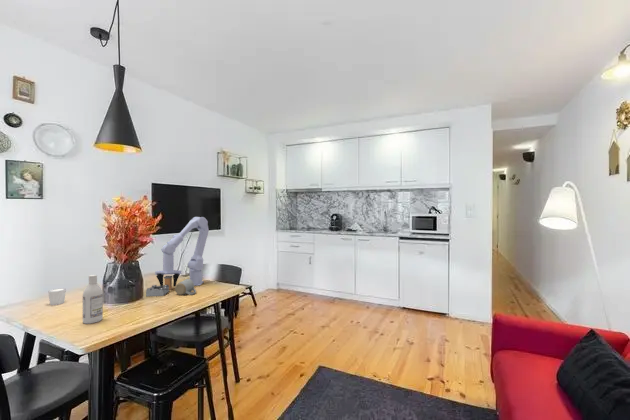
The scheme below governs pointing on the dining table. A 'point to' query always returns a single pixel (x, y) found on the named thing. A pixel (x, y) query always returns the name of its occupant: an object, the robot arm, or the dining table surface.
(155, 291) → the rosette block
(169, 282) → the wedge pin
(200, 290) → the dining table surface
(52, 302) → the white ribbed cup
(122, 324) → the dining table surface
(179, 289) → the ceramic mug
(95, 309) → the bath foam
